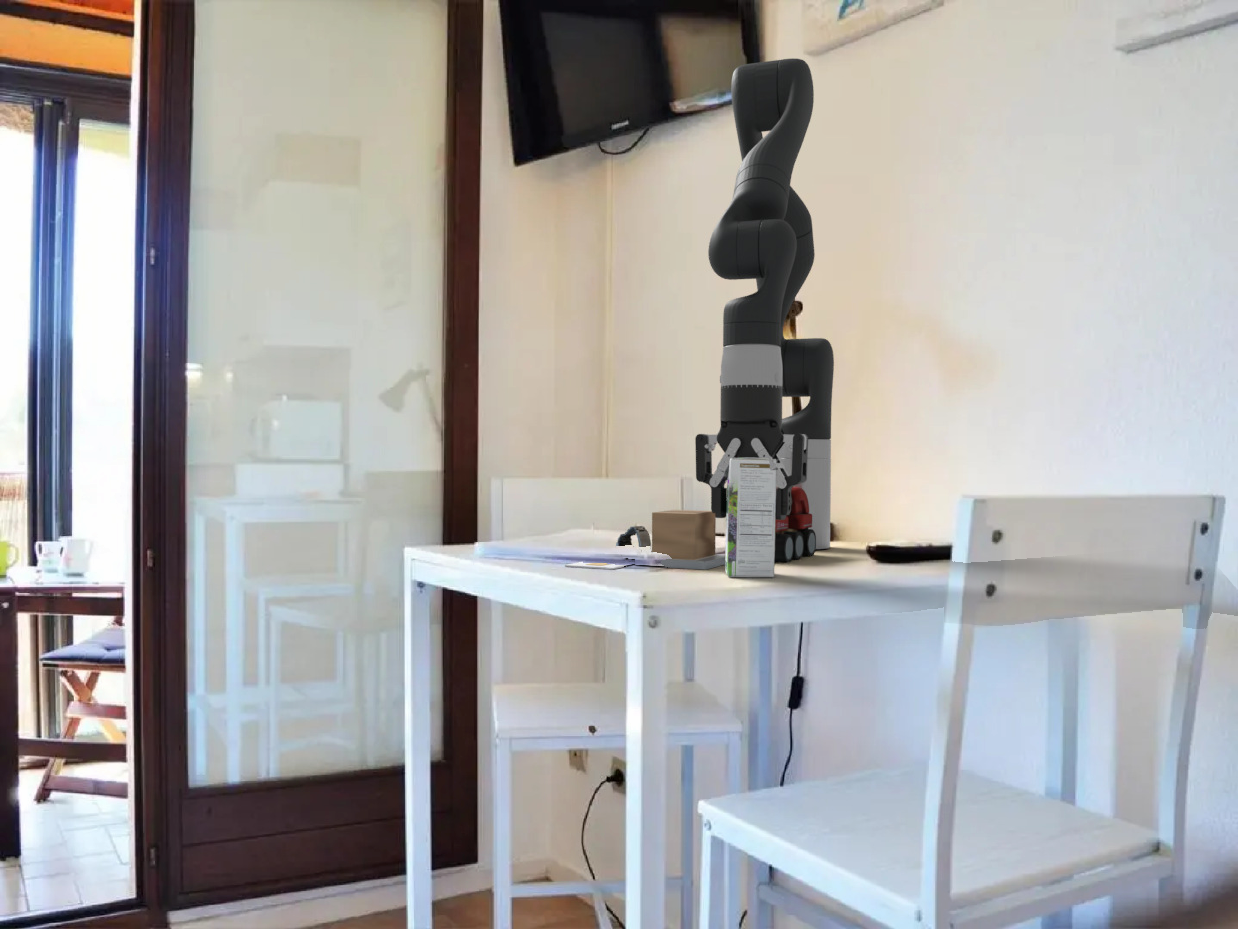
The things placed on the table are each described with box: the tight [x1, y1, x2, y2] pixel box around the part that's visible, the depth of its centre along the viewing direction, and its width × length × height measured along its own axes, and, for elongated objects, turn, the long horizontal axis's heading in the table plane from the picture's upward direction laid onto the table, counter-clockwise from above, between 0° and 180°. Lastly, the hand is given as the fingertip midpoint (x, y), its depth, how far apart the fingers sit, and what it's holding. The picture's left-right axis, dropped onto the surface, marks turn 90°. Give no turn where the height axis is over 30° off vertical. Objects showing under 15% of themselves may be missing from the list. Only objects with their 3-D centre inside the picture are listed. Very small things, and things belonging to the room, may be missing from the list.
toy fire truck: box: [775, 487, 817, 563], centre depth 152 cm, size 11×16×18 cm
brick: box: [651, 509, 717, 560], centre depth 141 cm, size 8×6×6 cm
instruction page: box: [564, 561, 625, 570], centre depth 139 cm, size 9×7×1 cm
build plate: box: [661, 554, 725, 571], centre depth 141 cm, size 10×10×1 cm
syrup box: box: [724, 457, 776, 578], centre depth 128 cm, size 6×6×14 cm
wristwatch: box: [615, 525, 652, 548], centre depth 147 cm, size 3×5×5 cm
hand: (750, 518), depth 128 cm, fingers closed on syrup box, 7 cm apart
